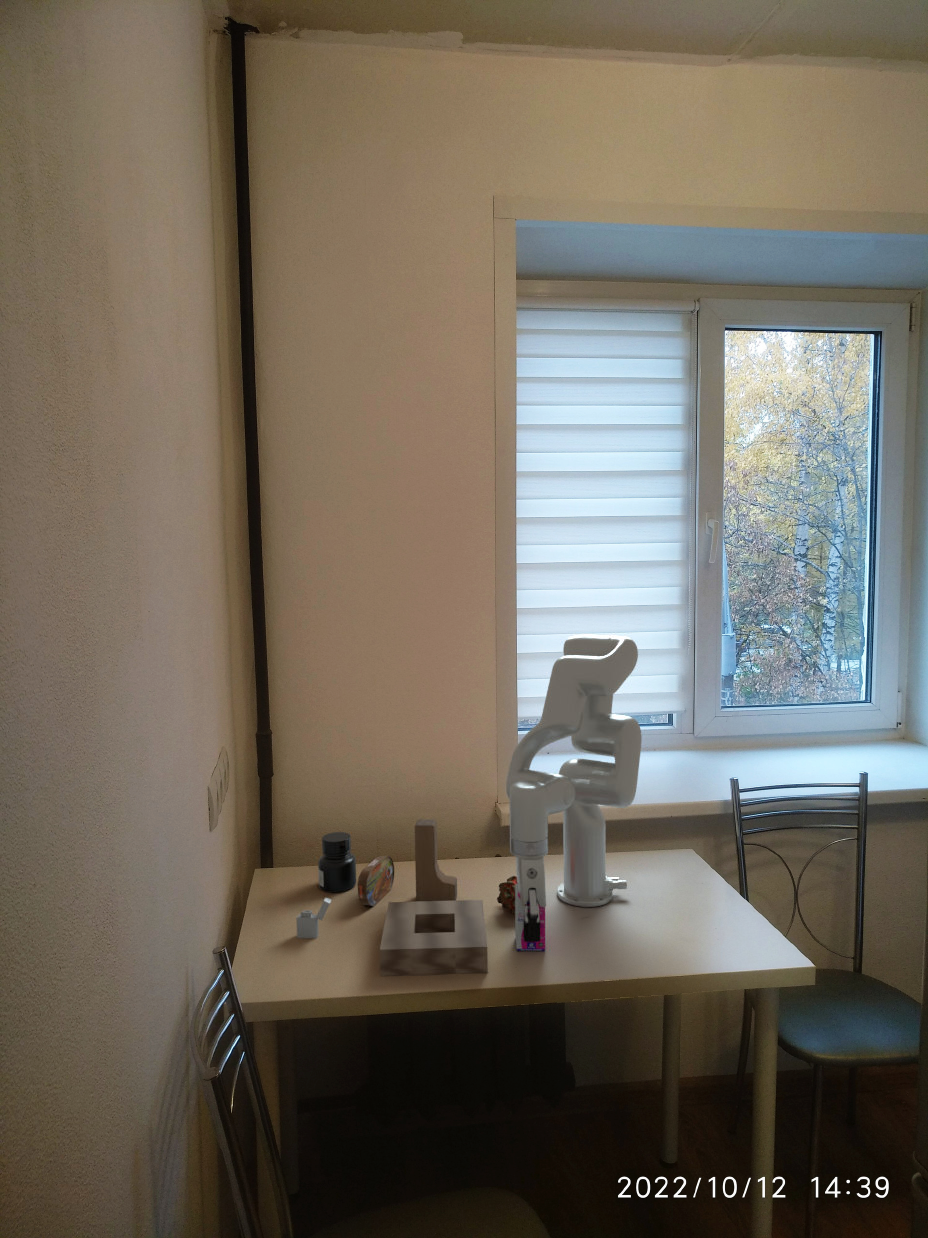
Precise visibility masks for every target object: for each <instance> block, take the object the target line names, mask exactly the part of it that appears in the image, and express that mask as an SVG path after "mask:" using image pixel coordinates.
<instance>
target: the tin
mask: <svg viewBox="0 0 928 1238" xmlns="http://www.w3.org/2000/svg"><path fill="white" fill-rule="evenodd" d="M394 879H395V864H394V861H393V858H392V857H391V856H389V855H381V856H377V857H375V858H374V859H373V860H372V861H371V862H370V863H368V865H366V866H365V867H364V868H363V869H362V870H361V871H360V874H359V876H358V879H357V883H356V885H357V896H358V901H359V902H360V904H361V905H363V906H369V907H374V906H376V905H377V904H378V903H379V902H380V901H381V900H382V899H383V898H384V897H385V896H386V895H387V894H388V893H389V892H390V891H391V889H392V886H393V884H394Z"/></svg>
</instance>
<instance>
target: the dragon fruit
mask: <svg viewBox="0 0 928 1238" xmlns="http://www.w3.org/2000/svg"><path fill="white" fill-rule="evenodd" d="M515 884H517V875H512V876H510V877H509V878H507V879H506V881H505V882H501V883H499V884H498V888H499V889H498V891H499V893H498V896H497V898H496V901H497V903H498V904H501V907H502V908H503V910H508V911H509V913H512V914H514V915H515Z"/></svg>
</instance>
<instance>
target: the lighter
mask: <svg viewBox="0 0 928 1238" xmlns="http://www.w3.org/2000/svg"><path fill="white" fill-rule="evenodd" d="M331 902H332V899H330V898H328V897H324V899H323V902H322V904H321V906H320V908H319V910H318V913H314V914H313V910H311V909H310V910H309V909H307V910H306V909H305V910H303V911H301V912H300V913H298V914H297V916H296V918H295V920H296V938H297V939H317V938H319V937H318V936H319V920H320V921H323V919H324V917H325V915H326V914H327V911H328V908H329V907H330V904H331Z"/></svg>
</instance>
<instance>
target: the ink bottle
mask: <svg viewBox="0 0 928 1238" xmlns="http://www.w3.org/2000/svg"><path fill="white" fill-rule="evenodd" d="M351 839H352V837H351V834H350V833H348V832H345V831H334V832H330V833H326V834H324V835H323V836H322V837H321V846H322V847H321V848H322V855H321V856H320V858H319V859H318V864H317V867H318V869H317V870H318V887H319V889H320V890H322V891H323V892H327V893H343V892H346V891H348V890H351V889H352V888H354V887H355V886H356V885H357V864H356V863H357V861H356V856H355V855H354V853H352V852H351V851H352V840H351Z"/></svg>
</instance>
